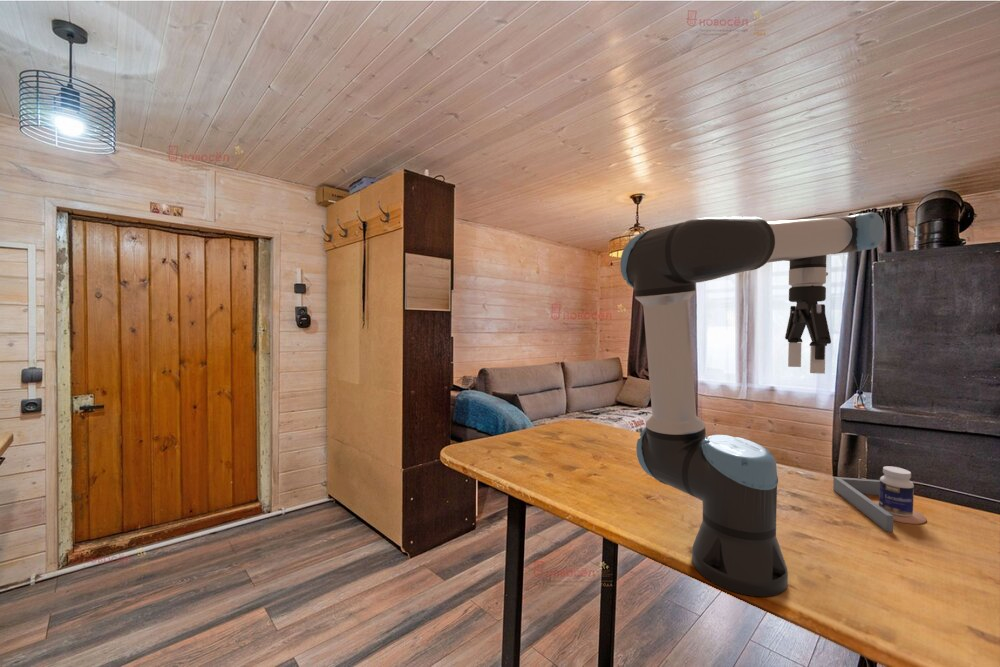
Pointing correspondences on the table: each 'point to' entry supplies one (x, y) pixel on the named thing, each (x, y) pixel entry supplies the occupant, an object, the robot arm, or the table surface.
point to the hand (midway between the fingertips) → (805, 369)
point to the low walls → (864, 499)
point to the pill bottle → (896, 491)
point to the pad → (910, 518)
